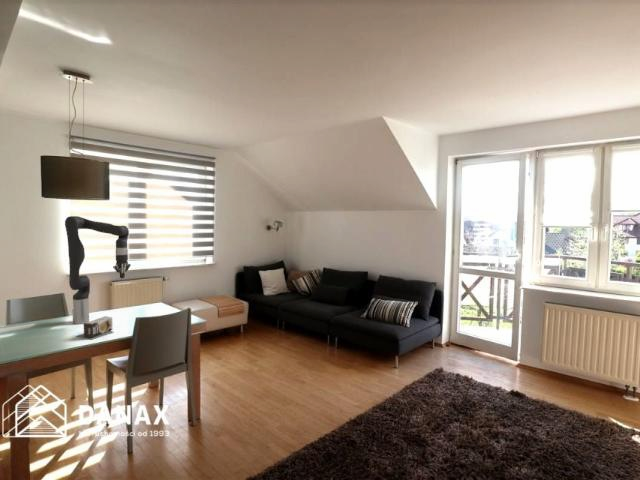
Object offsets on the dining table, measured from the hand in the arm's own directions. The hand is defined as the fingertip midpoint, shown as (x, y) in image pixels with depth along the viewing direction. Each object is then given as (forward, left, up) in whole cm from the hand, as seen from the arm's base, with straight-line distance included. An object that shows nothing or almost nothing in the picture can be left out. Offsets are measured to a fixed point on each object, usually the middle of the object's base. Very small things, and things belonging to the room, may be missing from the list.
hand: (122, 278), depth 251 cm
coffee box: (+7, -16, -27) cm, 32 cm away
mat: (+6, -26, -32) cm, 41 cm away
